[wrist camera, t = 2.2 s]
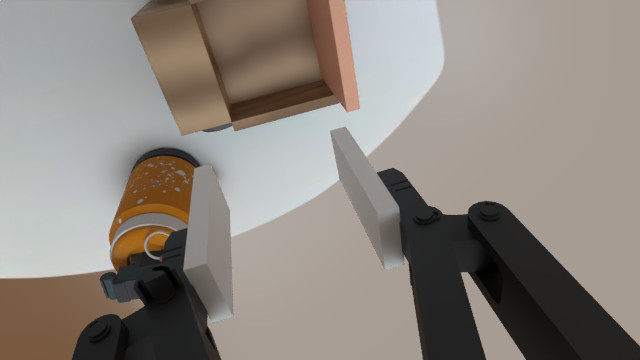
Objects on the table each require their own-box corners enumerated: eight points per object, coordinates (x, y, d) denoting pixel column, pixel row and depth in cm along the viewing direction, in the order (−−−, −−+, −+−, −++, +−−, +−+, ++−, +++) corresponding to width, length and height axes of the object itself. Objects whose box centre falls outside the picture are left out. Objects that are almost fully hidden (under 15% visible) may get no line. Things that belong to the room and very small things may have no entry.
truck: (137, -26, 39) (115, -16, 31) (297, -63, 40) (318, -64, 32) (196, 119, 48) (191, 158, 40) (325, 85, 49) (347, 115, 41)
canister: (124, 149, 48) (74, 261, 31) (217, 143, 50) (216, 244, 34) (140, 209, 53) (104, 334, 36) (224, 200, 55) (226, 314, 38)
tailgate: (302, -23, 37) (326, -11, 29) (318, -27, 38) (347, -17, 29) (321, 77, 43) (347, 112, 34) (335, 73, 43) (364, 107, 34)
